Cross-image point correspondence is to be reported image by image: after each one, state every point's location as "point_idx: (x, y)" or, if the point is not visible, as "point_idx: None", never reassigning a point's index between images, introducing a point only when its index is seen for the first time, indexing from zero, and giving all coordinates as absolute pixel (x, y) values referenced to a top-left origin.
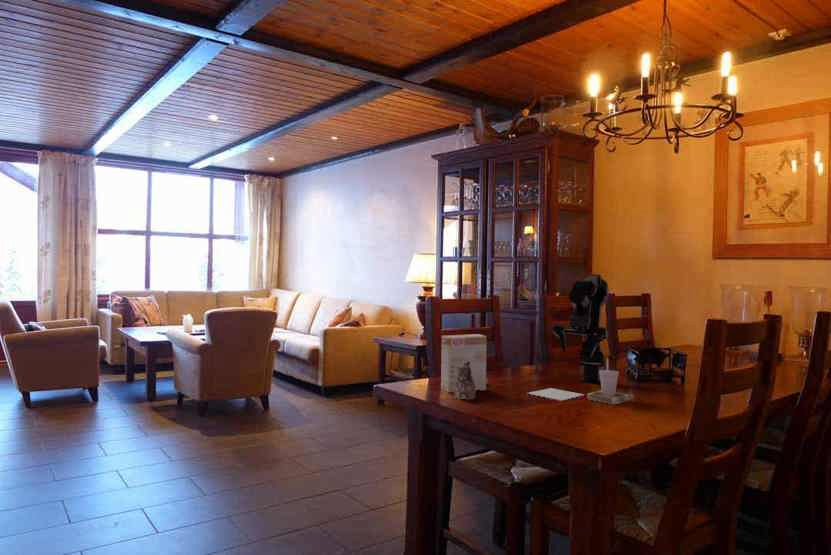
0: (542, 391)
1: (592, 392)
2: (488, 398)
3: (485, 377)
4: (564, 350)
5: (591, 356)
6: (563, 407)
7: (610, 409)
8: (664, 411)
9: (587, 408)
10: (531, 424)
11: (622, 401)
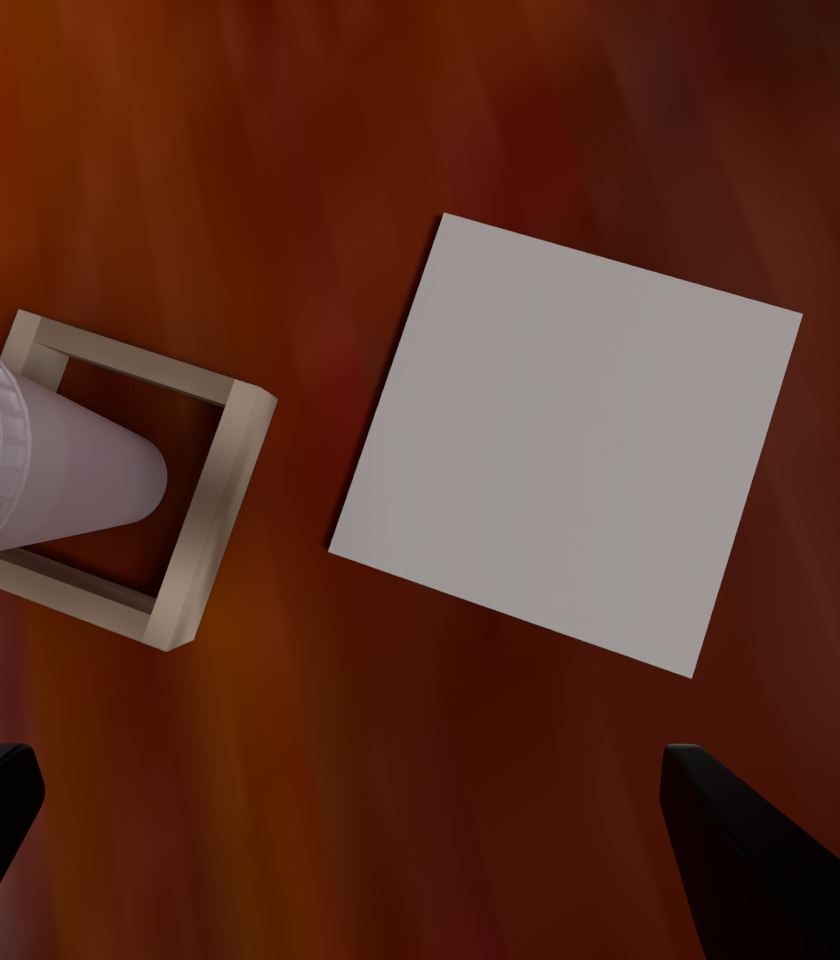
0: (702, 465)
1: (228, 471)
2: None
3: None
4: (710, 797)
5: (21, 783)
6: (373, 31)
7: (63, 171)
8: None
9: (213, 104)
10: None
11: None
